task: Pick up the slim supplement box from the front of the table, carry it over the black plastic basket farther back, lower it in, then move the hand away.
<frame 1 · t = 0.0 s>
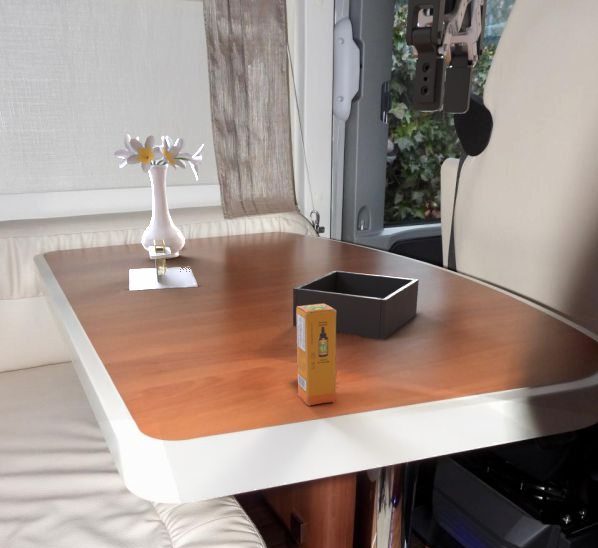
hand: (442, 112, 55), 28 cm above the table, tool pointing down, fingers open, 8 cm apart
basket: (355, 329, 91), on the table
supplement box: (315, 400, 68), on the table
platform: (162, 278, 122), on the table
flower vase: (167, 256, 142), on the table
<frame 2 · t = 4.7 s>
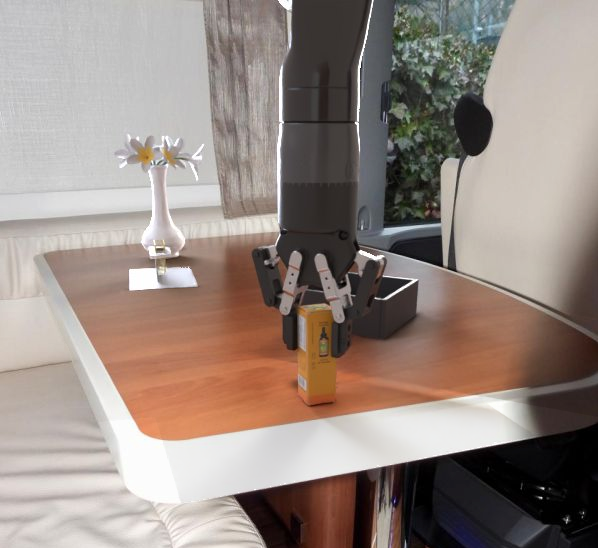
hand: (315, 351, 66), 5 cm above the table, tool pointing down, fingers closed on supplement box, 4 cm apart
supplement box: (315, 400, 68), on the table, touching gripper
everything else where it was.
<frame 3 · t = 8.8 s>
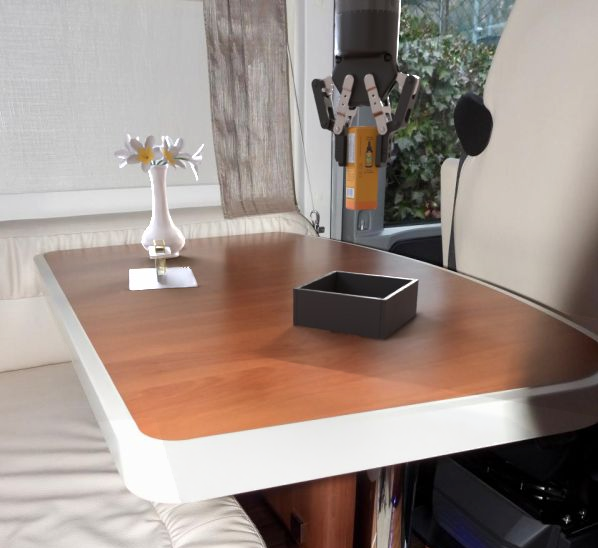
hand: (361, 166, 81), 22 cm above the table, tool pointing down, fingers closed on supplement box, 4 cm apart
supplement box: (360, 210, 84), point 16 cm above the table, touching gripper
everything else where it was.
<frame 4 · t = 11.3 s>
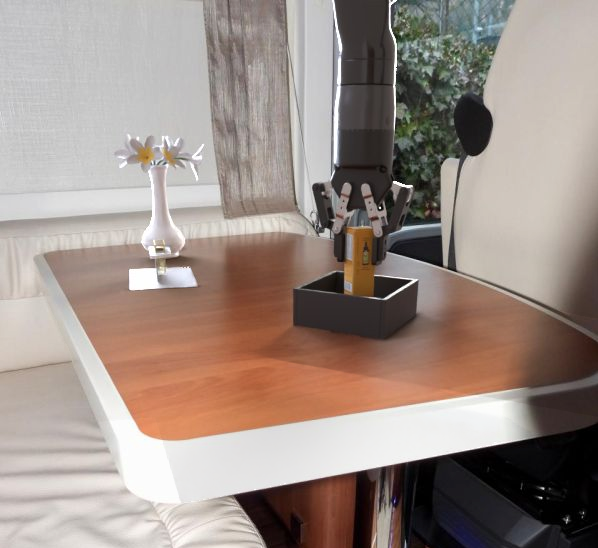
hand: (359, 262, 87), 10 cm above the table, tool pointing down, fingers closed on supplement box, 4 cm apart
supplement box: (357, 301, 89), point 4 cm above the table, touching gripper
everything else where it was.
when the fingers open (6 cm above the table, at t = 12.8 s): supplement box stays where it is, resting on basket.
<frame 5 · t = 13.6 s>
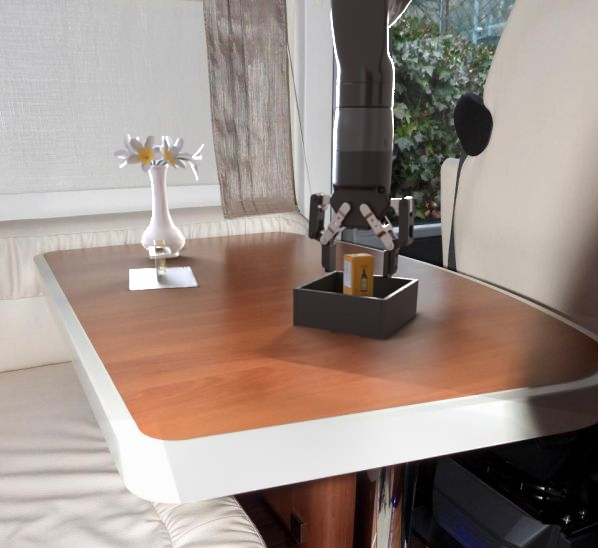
hand: (358, 274, 87), 8 cm above the table, tool pointing down, fingers open, 8 cm apart
supplement box: (356, 327, 90), resting on basket
everything else where it was.
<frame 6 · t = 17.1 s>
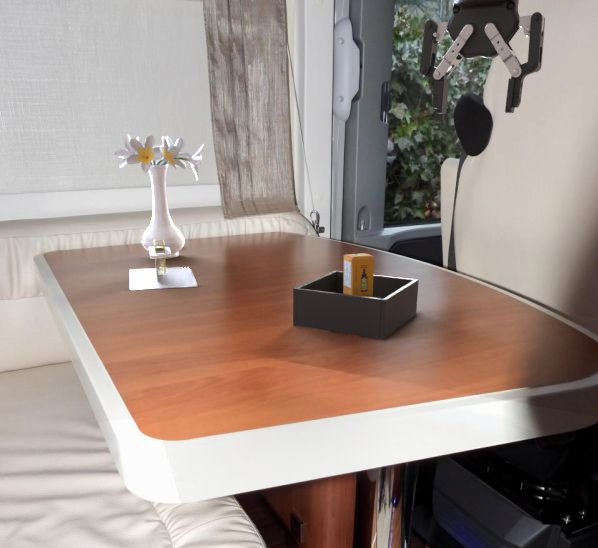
hand: (474, 113, 80), 28 cm above the table, tool pointing down, fingers open, 8 cm apart
nothing on the table moved.
at the end: supplement box inside the target area in the basket (0.1 cm from its centre), point 0.4 cm above the basket's base; the gripper is holding nothing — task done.
